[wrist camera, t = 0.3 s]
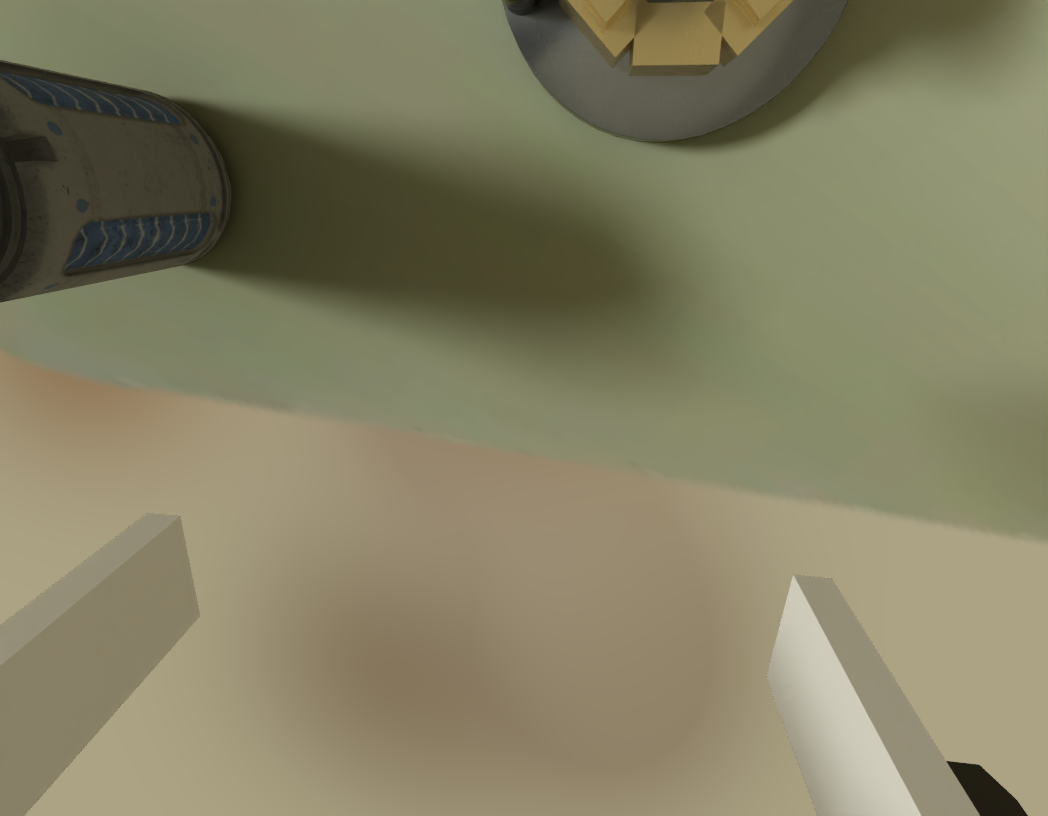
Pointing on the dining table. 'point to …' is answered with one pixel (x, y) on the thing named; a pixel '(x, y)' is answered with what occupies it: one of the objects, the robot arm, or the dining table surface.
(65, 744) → the robot arm
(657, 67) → the tan brick ring
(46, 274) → the beverage bottle
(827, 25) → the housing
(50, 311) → the dining table surface
